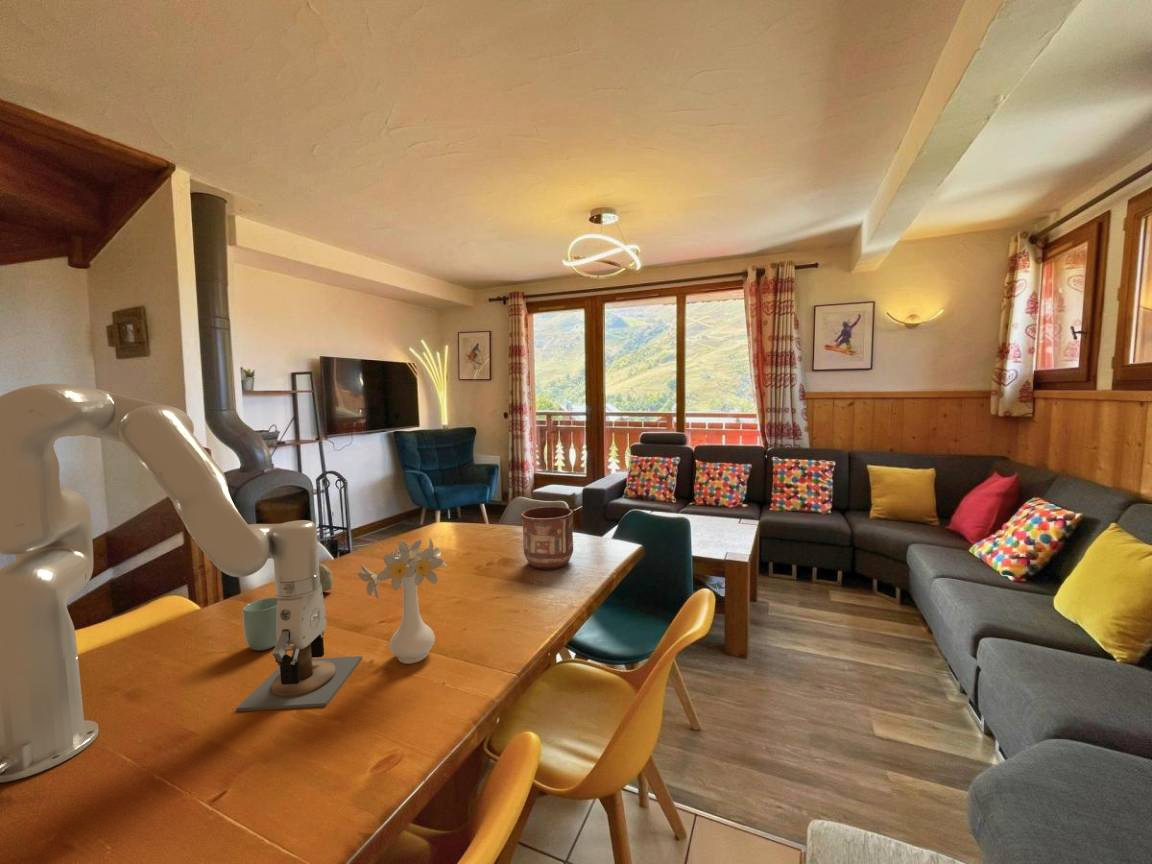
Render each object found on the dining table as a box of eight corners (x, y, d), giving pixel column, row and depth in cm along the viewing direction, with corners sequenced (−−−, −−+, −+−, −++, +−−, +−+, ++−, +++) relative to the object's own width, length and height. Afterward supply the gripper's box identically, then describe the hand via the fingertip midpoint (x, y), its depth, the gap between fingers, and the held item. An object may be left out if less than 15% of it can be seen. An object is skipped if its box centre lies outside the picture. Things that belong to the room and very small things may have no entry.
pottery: (518, 559, 164) (516, 508, 163) (566, 553, 169) (564, 504, 168) (528, 577, 147) (526, 521, 146) (581, 569, 152) (579, 515, 151)
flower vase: (354, 672, 96) (347, 553, 95) (424, 633, 112) (419, 530, 111) (396, 690, 90) (389, 562, 88) (464, 646, 105) (459, 537, 104)
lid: (319, 694, 88) (317, 659, 87) (259, 699, 87) (256, 664, 87) (344, 662, 99) (342, 631, 98) (291, 666, 98) (288, 634, 98)
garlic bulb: (332, 597, 135) (330, 564, 134) (298, 603, 132) (296, 568, 131) (336, 586, 144) (334, 554, 143) (304, 591, 141) (302, 558, 140)
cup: (266, 656, 103) (263, 612, 103) (237, 653, 105) (233, 610, 104) (294, 638, 111) (291, 598, 111) (266, 636, 113) (263, 596, 112)
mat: (326, 706, 85) (326, 702, 85) (236, 711, 85) (235, 708, 85) (362, 658, 101) (361, 656, 101) (286, 662, 101) (286, 660, 100)
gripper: (293, 602, 83) (299, 695, 84) (338, 568, 101) (342, 645, 102) (250, 604, 83) (256, 697, 84) (302, 569, 100) (307, 647, 101)
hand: (303, 669), depth 93 cm, fingers open, 8 cm apart
